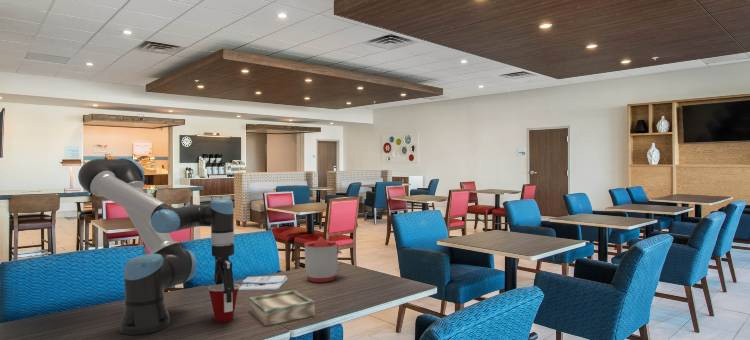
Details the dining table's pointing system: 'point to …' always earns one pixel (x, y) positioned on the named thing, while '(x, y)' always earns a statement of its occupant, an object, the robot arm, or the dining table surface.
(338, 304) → the dining table surface
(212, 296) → the plastic cup
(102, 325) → the dining table surface
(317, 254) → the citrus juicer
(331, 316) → the dining table surface
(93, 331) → the dining table surface
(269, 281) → the white flat piece
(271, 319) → the stand
